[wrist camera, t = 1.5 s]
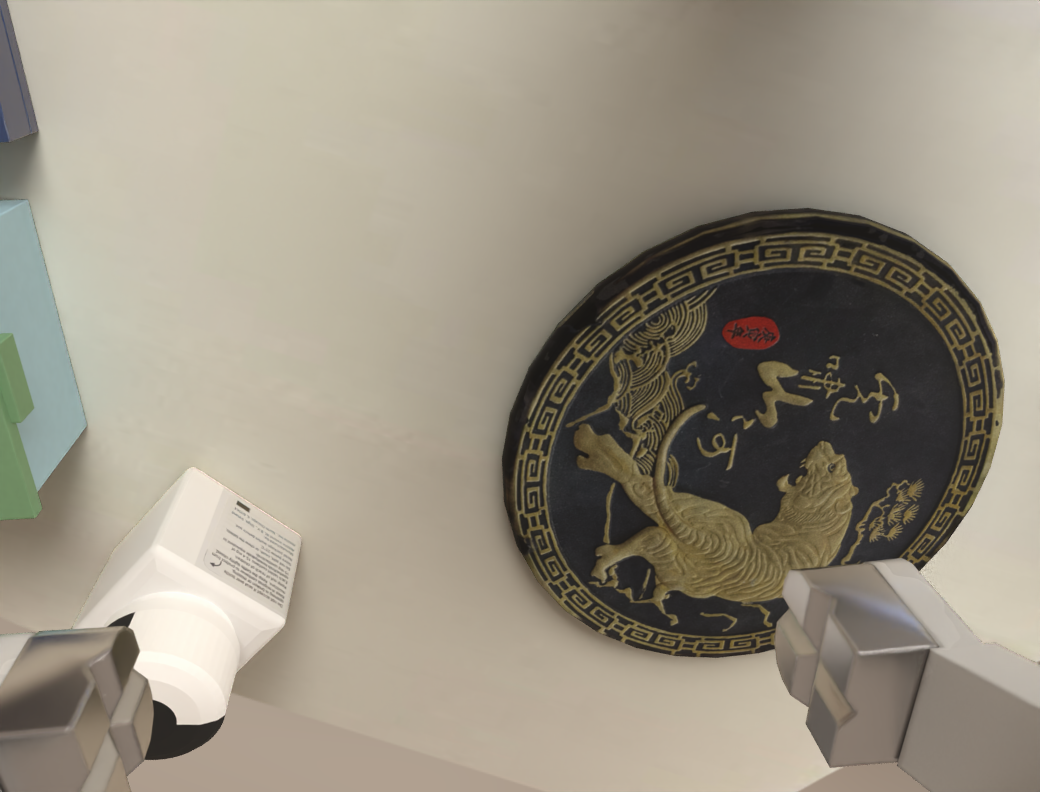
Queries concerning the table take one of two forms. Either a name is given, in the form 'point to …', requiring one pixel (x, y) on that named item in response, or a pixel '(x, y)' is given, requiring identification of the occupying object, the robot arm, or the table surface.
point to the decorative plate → (749, 426)
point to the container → (196, 601)
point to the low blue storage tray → (13, 86)
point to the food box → (30, 370)
